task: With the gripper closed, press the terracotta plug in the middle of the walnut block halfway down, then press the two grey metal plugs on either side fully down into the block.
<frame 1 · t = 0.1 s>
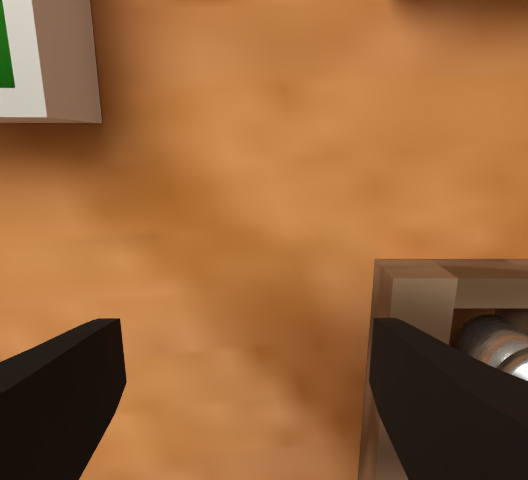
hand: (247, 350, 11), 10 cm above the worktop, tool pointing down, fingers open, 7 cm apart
grey plug 2: (512, 367, 17), point 5 cm above the worktop, slide at 0.0 cm
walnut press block: (445, 416, 23), on the worktop
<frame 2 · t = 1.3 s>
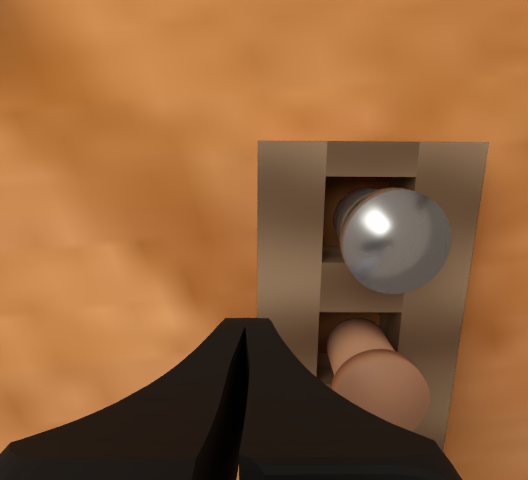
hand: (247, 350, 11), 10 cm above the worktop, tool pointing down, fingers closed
grey plug 2: (379, 230, 16), point 5 cm above the worktop, slide at 0.0 cm
terracotta plug: (367, 370, 17), point 5 cm above the worktop, slide at 0.0 cm
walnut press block: (345, 321, 22), on the worktop
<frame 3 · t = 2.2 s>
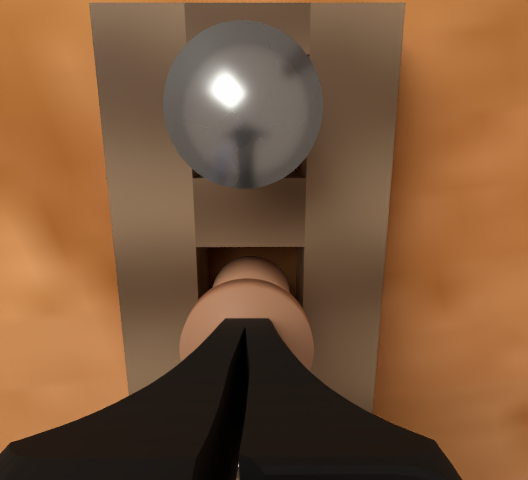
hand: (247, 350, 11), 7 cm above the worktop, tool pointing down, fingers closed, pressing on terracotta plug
grey plug 1: (251, 477, 14), point 5 cm above the worktop, slide at 0.0 cm
grey plug 2: (246, 115, 11), point 5 cm above the worktop, slide at 0.0 cm
terracotta plug: (249, 317, 13), point 5 cm above the worktop, slide at 0.1 cm, touching gripper
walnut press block: (252, 271, 18), on the worktop
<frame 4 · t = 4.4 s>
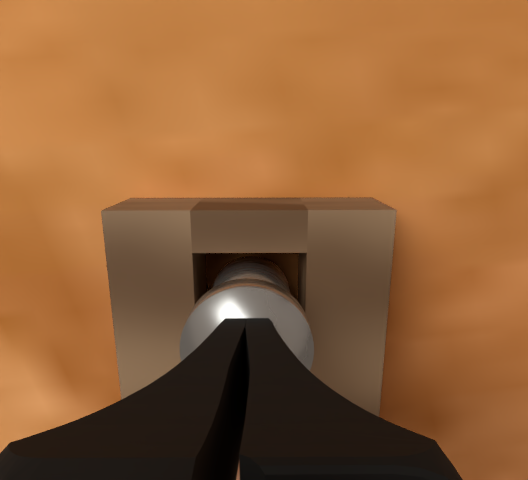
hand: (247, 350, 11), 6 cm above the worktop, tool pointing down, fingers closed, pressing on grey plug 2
grey plug 2: (249, 317, 13), point 4 cm above the worktop, slide at 0.9 cm, touching gripper
terracotta plug: (251, 471, 15), point 4 cm above the worktop, slide at 1.1 cm
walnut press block: (253, 406, 18), on the worktop
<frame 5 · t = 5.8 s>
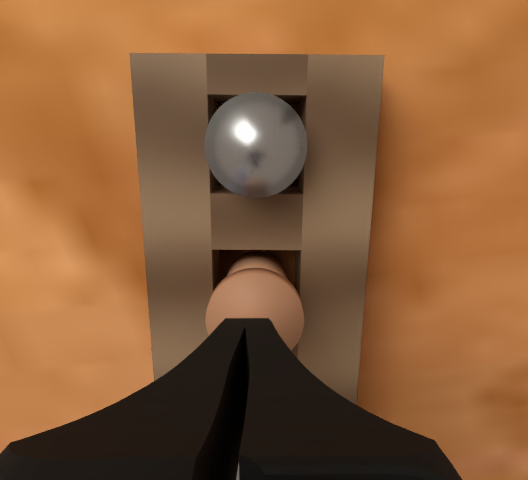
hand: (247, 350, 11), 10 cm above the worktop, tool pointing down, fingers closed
grey plug 1: (255, 439, 18), point 5 cm above the worktop, slide at 0.0 cm
grey plug 2: (256, 145, 16), point 3 cm above the worktop, slide at 2.1 cm
terracotta plug: (256, 298, 17), point 4 cm above the worktop, slide at 1.1 cm
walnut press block: (257, 270, 21), on the worktop
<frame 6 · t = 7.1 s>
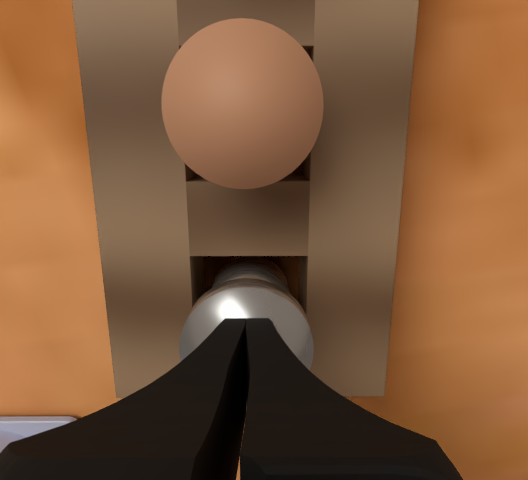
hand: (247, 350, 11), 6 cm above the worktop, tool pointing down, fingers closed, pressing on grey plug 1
grey plug 1: (249, 316, 13), point 4 cm above the worktop, slide at 1.3 cm, touching gripper
terracotta plug: (246, 114, 11), point 4 cm above the worktop, slide at 1.1 cm
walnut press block: (250, 121, 15), on the worktop
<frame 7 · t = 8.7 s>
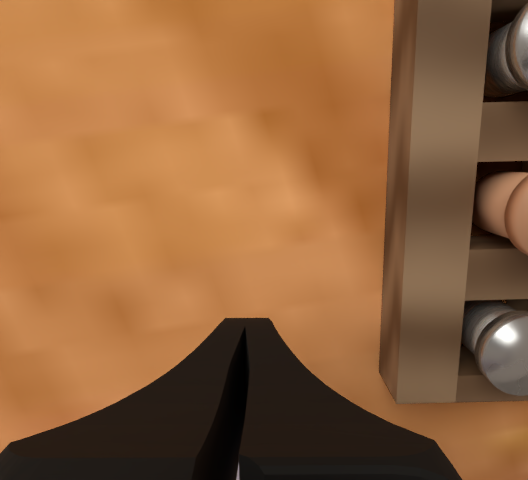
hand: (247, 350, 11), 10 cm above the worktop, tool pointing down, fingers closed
grey plug 1: (497, 334, 19), point 3 cm above the worktop, slide at 2.1 cm
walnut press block: (480, 198, 20), on the worktop
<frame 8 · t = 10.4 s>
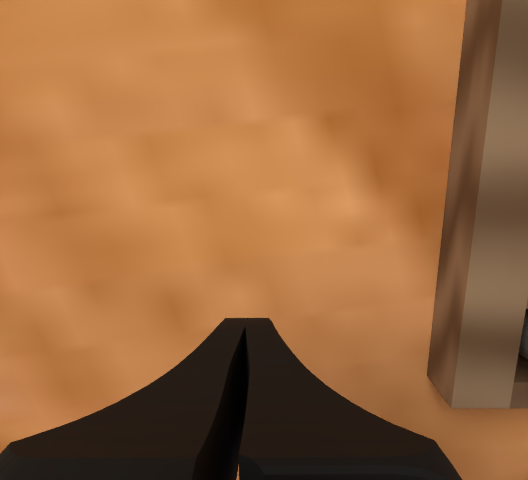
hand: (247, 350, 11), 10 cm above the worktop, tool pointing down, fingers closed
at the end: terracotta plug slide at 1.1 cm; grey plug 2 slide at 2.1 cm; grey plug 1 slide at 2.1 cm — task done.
